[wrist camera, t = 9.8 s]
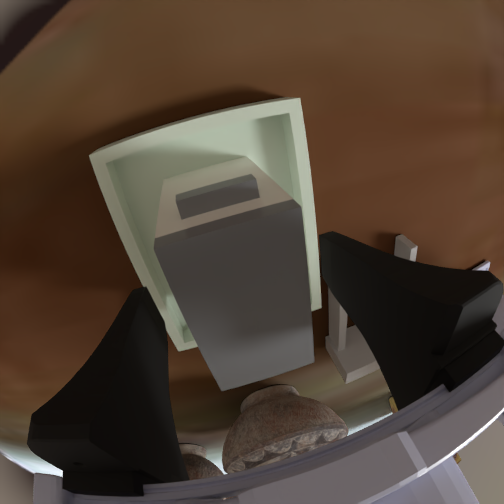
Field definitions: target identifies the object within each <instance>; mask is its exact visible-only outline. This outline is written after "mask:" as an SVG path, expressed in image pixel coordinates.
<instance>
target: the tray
mask: <svg viewBox="0 0 504 504" xmlns="http://www.w3.org/2000/svg"><path fill="white" fill-rule="evenodd" d="M246 156H247V157H248V158H249V159H250V160H251V161H252V162H254V163H255V164H256V165H257V166H258V167H259V168H260V169H261V170H262V171H264V172H265V173H266V174H267V175H268V176H269V177H270V178H271V179H272V180H273V181H275V182H276V183H277V184H278V185H279V186H280V187H281V188H282V189H283V190H284V191H285V192H286V193H288V194H289V195H290V196H291V197H292V198H293V199H294V200H295V201H296V202H297V203H298V204H299V205H300V206H301V207H302V216H303V225H304V234H305V243H306V253H307V264H308V275H309V287H310V299H311V311H314V310H317V309H320V308H322V307H321V286H320V269H319V254H318V241H317V229H316V218H315V208H314V198H313V189H312V180H311V171H310V163H309V155H308V148H307V140H306V133H305V127H304V120H303V113H302V107H301V101H300V98H292V97H284V98H278V99H271V100H266V101H260V102H255V103H249V104H244V105H240V106H235V107H230V108H226V109H221V110H217V111H213V112H209V113H205V114H201V115H197V116H193V117H190V118H186V119H183V120H179V121H176V122H172V123H169V124H166V125H162V126H159V127H156V128H153V129H150V130H147V131H144V132H141V133H138V134H135V135H132V136H130V137H127V138H124V139H121V140H119V141H116V142H113V143H111V144H108V145H106V146H103V147H101V148H99V149H97V150H96V151H94V152H93V153H92V154H90V155H89V157H90V160H91V163H92V166H93V169H94V172H95V175H96V178H97V180H98V183H99V186H100V189H101V191H102V194H103V196H104V199H105V202H106V204H107V207H108V209H109V212H110V214H111V217H112V219H113V221H114V224H115V226H116V229H117V231H118V233H119V236H120V238H121V240H122V242H123V245H124V247H125V249H126V251H127V254H128V256H129V258H130V260H131V262H132V264H133V266H134V269H135V271H136V273H137V275H138V277H139V279H140V281H141V283H142V285H143V287H145V286H147V288H148V290H149V292H150V294H151V296H152V298H153V300H154V302H155V304H156V306H157V308H158V310H159V312H160V314H161V316H162V317H163V319H164V321H165V326H166V330H167V332H168V334H169V336H170V337H171V339H172V341H173V343H174V344H175V346H176V348H177V350H178V351H183V350H187V349H191V348H195V347H198V345H197V343H196V342H195V340H194V338H193V335H192V333H191V331H190V329H189V327H188V325H187V323H186V321H185V319H184V317H183V315H182V313H181V311H180V308H179V306H178V304H177V302H176V300H175V298H174V295H173V293H172V291H171V289H170V287H169V284H168V282H167V280H166V277H165V275H164V273H163V271H162V268H161V266H160V264H159V261H158V259H157V256H156V254H155V252H154V240H155V232H156V224H157V217H158V210H159V203H160V197H161V191H162V185H163V179H167V178H170V177H173V176H176V175H180V174H183V173H186V172H190V171H193V170H197V169H200V168H204V167H207V166H211V165H215V164H219V163H222V162H226V161H230V160H234V159H238V158H242V157H246Z"/></svg>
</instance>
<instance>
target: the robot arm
mask: <svg viewBox="0 0 504 504" xmlns="http://www.w3.org/2000/svg"><path fill="white" fill-rule="evenodd" d="M319 241H320V255H321V271H322V276H323V278H324V280H325V282H326V284H327V286H328V287H329V289H330V291H331V293H332V294H333V295H334V297H335V298H336V300H337V301H338V302H339V304H340V305H341V306H342V308H343V309H344V310H345V312H346V313H347V314H348V316H349V317H350V318H351V320H352V321H353V322H354V324H355V325H356V327H357V328H358V329H359V331H360V332H361V334H362V335H363V337H364V339H365V340H366V342H367V344H368V346H369V348H370V349H371V351H372V353H373V355H374V357H375V359H376V361H377V363H378V365H379V367H380V369H381V371H382V373H383V375H384V378H385V380H386V382H387V384H388V387H389V389H390V391H391V394H392V396H393V399H394V401H395V404H396V407H397V409H398V411H397V412H396V413H394V414H392V415H390V416H388V417H386V418H384V419H382V420H380V421H379V422H377V423H374V424H372V425H370V426H368V427H366V428H364V429H362V430H360V431H358V432H355V433H353V434H351V435H349V436H346V437H344V438H342V439H339V440H337V441H335V442H332V443H330V444H327V445H324V446H322V447H319V448H317V449H314V450H311V451H308V452H305V453H303V454H300V455H297V456H294V457H290V458H287V459H284V460H281V461H278V462H274V463H271V464H267V465H263V466H260V467H256V468H252V469H248V470H243V471H239V472H234V473H230V474H225V475H220V476H214V477H209V478H202V479H196V480H190V479H189V476H188V473H187V470H186V467H185V464H184V461H183V457H182V454H181V450H180V446H179V442H178V438H177V434H176V430H175V425H174V420H173V415H172V409H171V403H170V396H169V378H168V341H167V333H166V326H165V321H164V319H163V317H162V316H161V314H160V312H159V310H158V308H157V306H156V304H155V302H154V300H153V298H152V296H151V294H150V292H149V290H148V288H147V286H145V287H142V288H138V289H135V290H133V291H132V292H131V294H130V295H129V297H128V298H127V300H126V302H125V303H124V305H123V307H122V308H121V310H120V312H119V314H118V315H117V317H116V319H115V320H114V322H113V324H112V325H111V327H110V328H109V330H108V331H107V333H106V335H105V336H104V338H103V339H102V341H101V342H100V344H99V345H98V347H97V348H96V350H95V351H94V352H93V354H92V355H91V356H90V358H89V359H88V360H87V362H86V363H85V364H84V365H83V366H82V367H81V369H80V370H79V371H78V372H77V373H76V374H75V375H74V377H73V378H72V379H71V380H70V381H69V382H68V383H67V384H66V385H65V386H64V387H63V388H62V389H61V390H60V391H59V392H58V393H57V394H56V395H55V396H54V397H52V398H51V399H50V400H49V401H48V402H46V403H45V404H44V405H43V406H42V407H40V408H39V409H38V410H37V411H35V412H34V413H33V414H32V416H31V422H30V427H29V433H28V440H27V445H28V447H29V448H30V450H31V451H32V452H33V453H34V454H36V455H37V456H39V457H40V458H42V459H43V460H45V461H47V462H48V463H50V464H52V465H54V466H55V467H57V468H59V469H61V470H63V478H62V477H60V476H56V475H50V474H42V473H34V490H33V491H34V492H33V504H479V502H478V500H477V498H476V496H475V495H474V493H473V491H472V489H471V487H470V486H469V484H468V482H467V480H466V479H465V477H464V475H463V473H462V472H461V470H460V468H459V467H458V465H457V463H456V461H455V460H454V458H453V455H455V454H456V453H457V452H459V451H460V450H461V449H462V448H464V447H465V446H466V445H467V444H469V443H470V442H471V441H472V440H474V439H475V438H476V437H477V436H478V435H479V434H481V433H482V432H483V431H484V430H485V429H486V428H487V427H488V426H489V425H491V424H492V423H493V422H494V421H495V420H496V419H497V420H498V421H499V422H501V423H502V424H503V425H504V295H503V283H502V282H501V281H500V280H499V279H498V278H496V277H495V276H494V275H493V274H492V273H491V272H489V271H488V269H489V266H490V262H489V261H486V262H484V263H482V264H481V265H479V266H477V267H476V268H474V269H472V270H461V269H452V268H444V267H438V266H433V265H428V264H423V263H419V262H415V261H411V260H408V259H404V258H401V257H397V256H394V255H392V254H389V253H386V252H383V251H381V250H378V249H375V248H373V247H370V246H368V245H366V244H363V243H361V242H358V241H356V240H354V239H351V238H349V237H347V236H344V235H342V234H339V233H336V232H333V231H331V232H328V233H325V234H321V235H319ZM233 496H237V497H233ZM227 497H233V498H229V499H225V500H223V499H222V498H227Z"/></svg>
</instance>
